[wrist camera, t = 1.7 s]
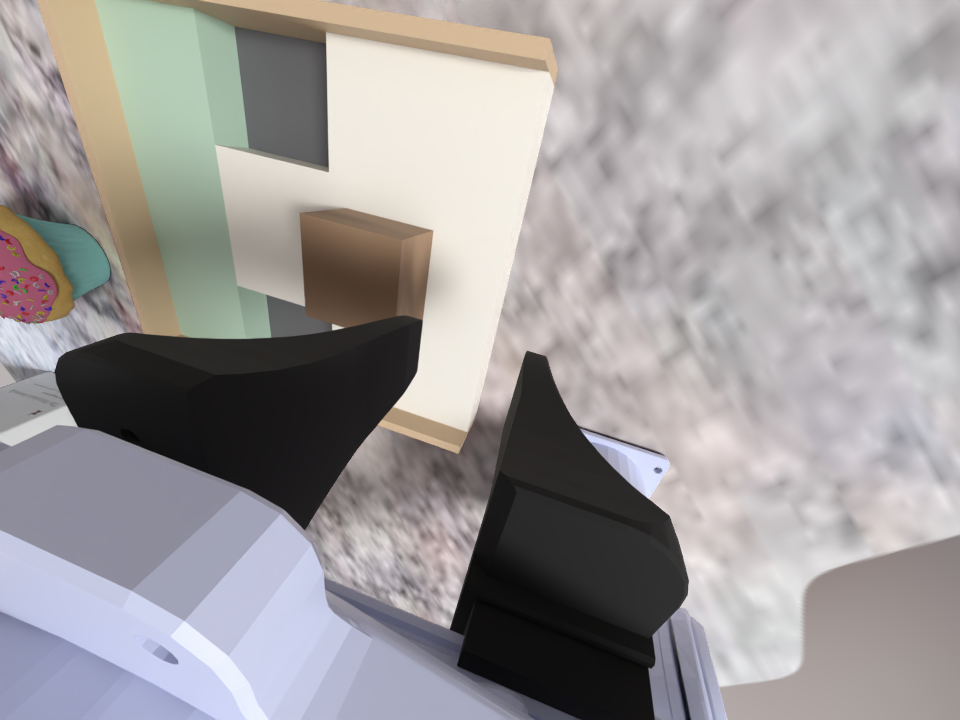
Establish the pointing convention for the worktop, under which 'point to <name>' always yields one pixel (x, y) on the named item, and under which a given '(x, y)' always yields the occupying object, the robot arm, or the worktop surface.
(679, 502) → the worktop surface
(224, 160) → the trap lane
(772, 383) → the worktop surface
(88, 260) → the cupcake
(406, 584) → the worktop surface
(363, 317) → the walnut block
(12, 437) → the supplement box
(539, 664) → the robot arm
